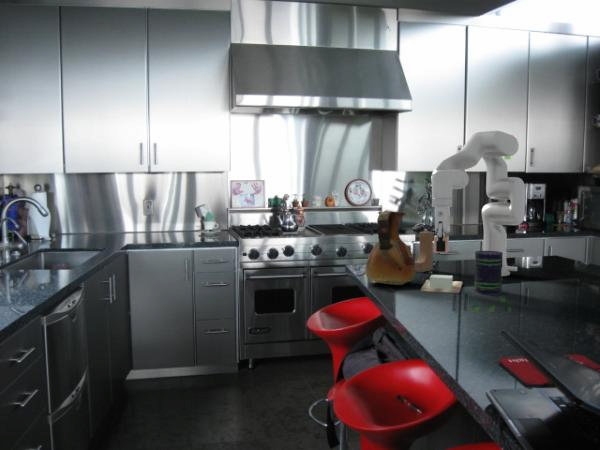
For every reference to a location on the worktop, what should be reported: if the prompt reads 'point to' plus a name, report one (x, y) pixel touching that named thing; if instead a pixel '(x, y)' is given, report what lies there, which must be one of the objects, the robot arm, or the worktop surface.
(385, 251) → the ceramic pitcher
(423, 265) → the wooden block
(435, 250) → the terracotta brick
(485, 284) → the storage jar
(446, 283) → the sage base brick
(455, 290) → the build board
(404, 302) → the worktop surface
